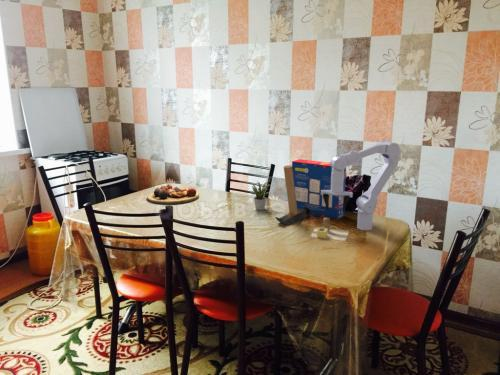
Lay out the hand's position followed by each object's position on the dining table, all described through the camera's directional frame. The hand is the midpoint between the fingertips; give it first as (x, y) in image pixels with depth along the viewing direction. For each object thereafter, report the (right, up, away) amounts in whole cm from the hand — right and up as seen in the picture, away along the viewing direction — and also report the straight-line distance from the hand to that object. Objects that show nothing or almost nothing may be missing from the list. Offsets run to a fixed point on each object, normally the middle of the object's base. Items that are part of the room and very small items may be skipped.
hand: (335, 210), depth 205 cm
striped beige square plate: (-3, -12, -3) cm, 13 cm away
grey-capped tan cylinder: (-4, -10, +1) cm, 11 cm away
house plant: (-34, -1, +40) cm, 52 cm away
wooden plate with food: (-88, +4, +64) cm, 109 cm away
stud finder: (-7, -11, -6) cm, 15 cm away
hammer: (-18, -7, +18) cm, 27 cm away
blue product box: (-4, -3, +31) cm, 31 cm away
